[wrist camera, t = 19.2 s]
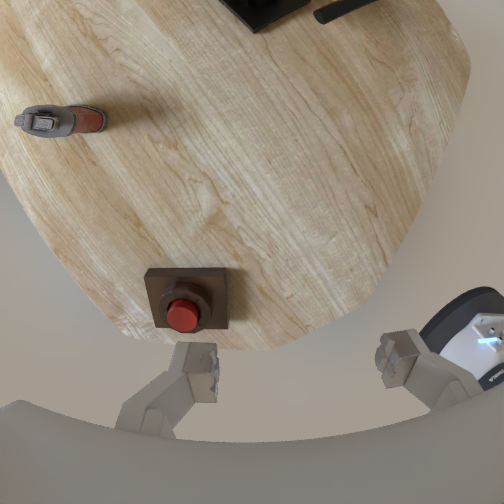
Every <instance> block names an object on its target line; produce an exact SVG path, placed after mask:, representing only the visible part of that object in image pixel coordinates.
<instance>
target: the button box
mask: <svg viewBox="0 0 504 504" xmlns="http://www.w3.org/2000/svg"><path fill="white" fill-rule="evenodd" d="M144 281H145V285H146V290H147V294H148V298H149V303H150V307H151V311H152V315H153V319H154V323H155V327H156V328H171V329H173V330H176V329H174V328H173V327H172V326H171V325H170V324H169V323H168V320H167V314H168V311H169V309H170V306H171V304H172V303H173V302H174V301H176V300H178V299H186V300H189V301H191V302H193V303H194V304H195V305H196V306H197V308H198V310H199V316H198V320H197V324H196V326H195V328H194V329H192V330H190V331H179V330H176V331H178V332H180V333H196V332H199V331H201V330H203V329H228V326H229V311H228V297H227V283H226V268H149V269H148V271H147V272H146V274H145V275H144Z"/></svg>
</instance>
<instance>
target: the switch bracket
mask: <svg viewBox="0 0 504 504" xmlns="http://www.w3.org/2000/svg"><path fill="white" fill-rule="evenodd" d="M219 1H220V2H221V3H222V4H223V5H224V6H225V7H227V8H228V9H229V10H230V11H231V12H232V13H233V14H234V15H235V16H236V17H237V18H238V19H239V20H240V21H241V22H242V23H243V24H244V25H245V26H246V27H247V28H248V29H249V30H250V31H251V32H252V33H255V32H257V31H259V30H260V29H262V28H264V27H265V26H267V25H269V24H270V23H272V22H274V21H276V20H277V19H279V18H281V17H283V16H285V15H287V14H289V13H290V12H292V11H294V10H296V9H298V8H300V7H302V6H304V5H306V4H308V3H310V1H311V0H219Z"/></svg>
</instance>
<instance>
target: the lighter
mask: <svg viewBox="0 0 504 504" xmlns="http://www.w3.org/2000/svg"><path fill="white" fill-rule="evenodd" d="M107 121H108V118H107V115H106V113H105V112H103V111H101V110H98V109H96V108H92V107H88V106H73V105H71V106H64V107H61V106H56V105H36V106H32V107H28V108H26V109H25V110H24V111H23V113H22V115H17V116H16V117H15V121H14V125H15V126H17V127H21V128H22V130H23V131H25V132H27V133H29V134H31V135H35V136H38V137H45V138H56V137H65V136H69V135H71V134H73V133H98V132H102V131H103V130H104V129H105V127H106V125H107Z"/></svg>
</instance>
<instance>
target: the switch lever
mask: <svg viewBox="0 0 504 504" xmlns="http://www.w3.org/2000/svg"><path fill="white" fill-rule="evenodd" d="M333 1H334V2H332V3H330V4H328V5H326V6H323V7H321V8H319V9H317V10H315V11H314V12H313V15H314V17H315V18H316V20H317V21H318V22H319V23H321V24H323V25H324V24H327V23H329V22H331V21H333V20H335V19H337V18H339V17H341V16H343V15H345V14H347V13H349V12H352V11H354V10H356V9H358V8H361V7H363V6H366V5H368V4H370V3H373V2H375V1H378V0H333Z"/></svg>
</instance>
